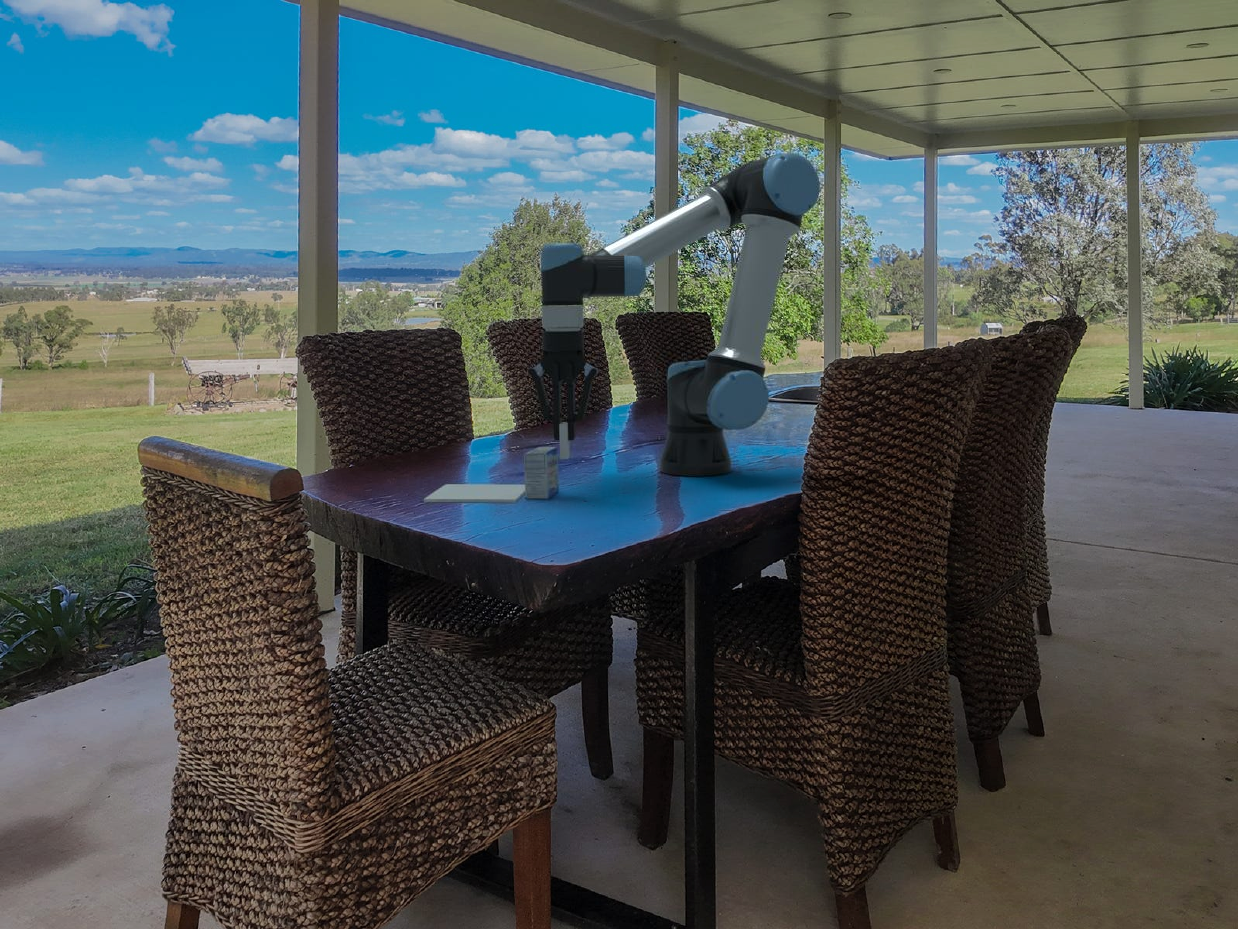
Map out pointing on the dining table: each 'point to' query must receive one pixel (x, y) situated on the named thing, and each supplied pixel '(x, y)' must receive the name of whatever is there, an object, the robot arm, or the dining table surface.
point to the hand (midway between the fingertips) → (564, 457)
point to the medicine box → (541, 473)
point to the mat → (477, 493)
